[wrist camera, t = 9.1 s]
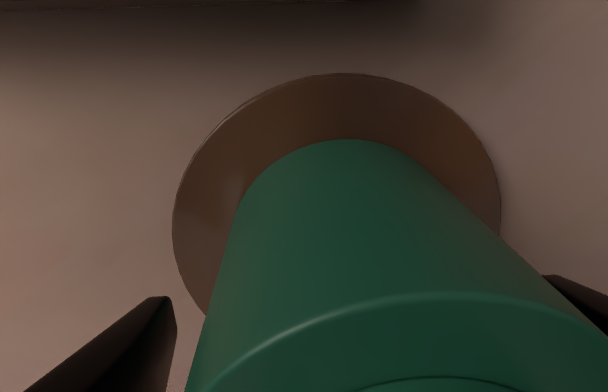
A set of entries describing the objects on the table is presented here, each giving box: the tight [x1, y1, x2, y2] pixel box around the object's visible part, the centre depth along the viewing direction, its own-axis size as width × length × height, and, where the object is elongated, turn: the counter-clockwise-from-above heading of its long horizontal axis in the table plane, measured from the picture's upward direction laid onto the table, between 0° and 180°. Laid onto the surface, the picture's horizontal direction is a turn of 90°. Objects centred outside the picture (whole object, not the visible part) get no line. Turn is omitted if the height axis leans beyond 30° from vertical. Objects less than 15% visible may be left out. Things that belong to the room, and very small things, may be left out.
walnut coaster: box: [172, 73, 501, 315], centre depth 10 cm, size 9×9×1 cm
